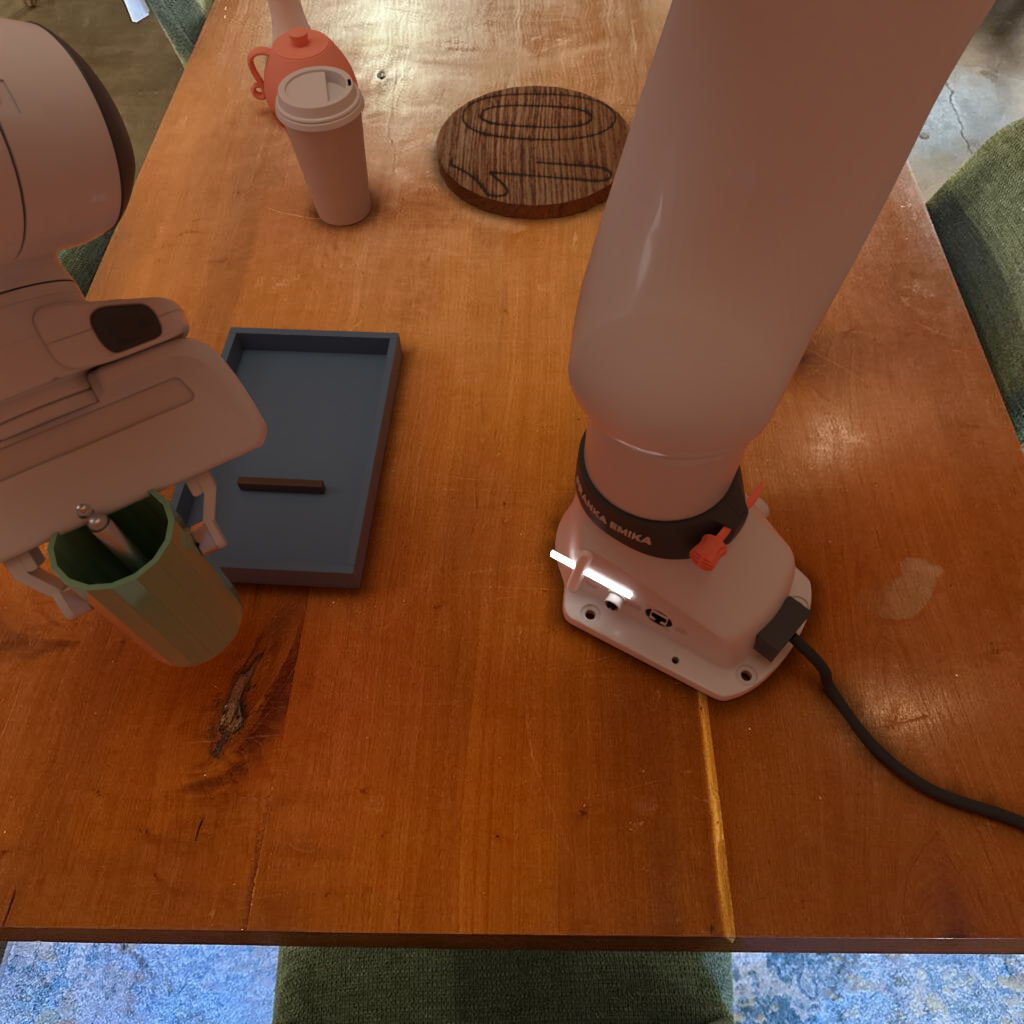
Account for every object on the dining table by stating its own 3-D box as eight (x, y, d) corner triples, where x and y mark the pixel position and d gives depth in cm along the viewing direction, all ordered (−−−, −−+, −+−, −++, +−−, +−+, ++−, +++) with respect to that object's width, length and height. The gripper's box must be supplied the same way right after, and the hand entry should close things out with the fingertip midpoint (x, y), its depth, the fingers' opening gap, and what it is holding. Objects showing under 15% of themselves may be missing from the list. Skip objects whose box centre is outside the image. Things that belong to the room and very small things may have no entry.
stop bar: (324, 494, 71) (321, 487, 70) (240, 490, 71) (236, 483, 70) (326, 487, 71) (323, 480, 70) (242, 483, 72) (238, 476, 71)
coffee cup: (370, 239, 90) (344, 117, 77) (293, 229, 91) (255, 107, 78) (392, 188, 95) (372, 65, 82) (320, 179, 96) (288, 57, 83)
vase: (261, 54, 111) (239, -22, 103) (304, 35, 114) (286, -41, 105) (290, 75, 108) (270, -2, 100) (333, 55, 111) (317, -22, 103)
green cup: (262, 615, 52) (198, 528, 42) (182, 687, 50) (93, 613, 39) (202, 559, 55) (127, 463, 44) (123, 625, 52) (24, 540, 42)
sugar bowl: (360, 133, 101) (345, 54, 92) (254, 140, 101) (228, 61, 92) (362, 82, 107) (348, 3, 99) (262, 87, 107) (239, 9, 98)
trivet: (638, 219, 91) (640, 205, 90) (430, 219, 92) (428, 205, 90) (626, 98, 104) (628, 85, 103) (444, 99, 105) (442, 85, 103)
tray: (359, 589, 67) (353, 573, 64) (162, 579, 67) (148, 563, 65) (402, 353, 81) (398, 332, 78) (239, 347, 82) (230, 326, 79)
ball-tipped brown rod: (213, 626, 51) (107, 515, 42) (198, 639, 51) (88, 529, 41) (203, 617, 52) (97, 505, 42) (189, 629, 51) (78, 519, 42)
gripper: (-216, 448, 36) (-47, 685, 40) (198, 288, 41) (312, 513, 45) (-155, 439, 42) (-13, 648, 46) (201, 300, 47) (302, 498, 51)
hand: (151, 579), depth 46 cm, fingers closed on green cup, 7 cm apart
